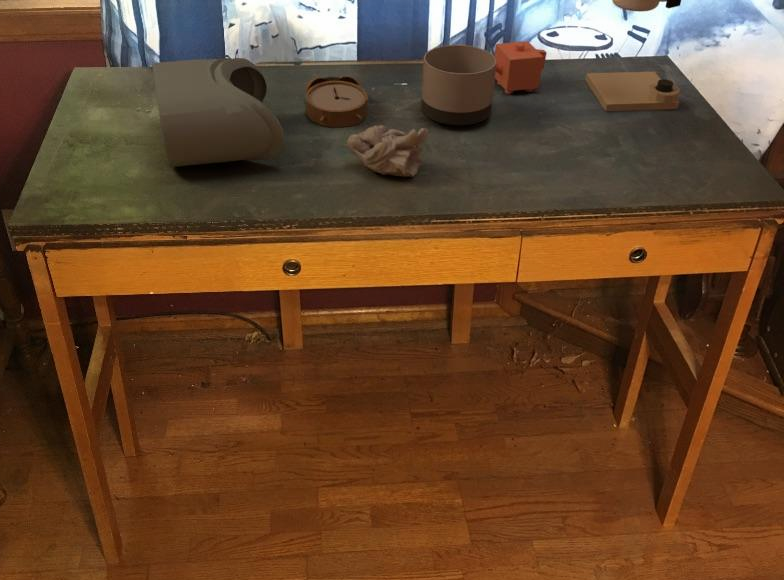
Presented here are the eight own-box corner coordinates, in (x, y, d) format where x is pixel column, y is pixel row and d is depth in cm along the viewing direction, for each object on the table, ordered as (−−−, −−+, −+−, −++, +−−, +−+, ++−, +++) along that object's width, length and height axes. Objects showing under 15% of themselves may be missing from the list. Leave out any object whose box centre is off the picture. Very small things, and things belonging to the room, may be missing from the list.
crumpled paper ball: (427, 125, 134) (366, 91, 137) (394, 182, 136) (335, 147, 139) (441, 139, 142) (383, 107, 145) (410, 194, 143) (354, 160, 147)
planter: (498, 129, 154) (504, 72, 147) (428, 133, 153) (431, 75, 145) (481, 98, 163) (486, 43, 156) (415, 102, 162) (417, 46, 155)
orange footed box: (476, 81, 169) (480, 38, 164) (533, 75, 172) (538, 33, 166) (490, 98, 164) (494, 54, 158) (548, 92, 166) (554, 49, 160)
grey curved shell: (162, 123, 154) (150, 51, 145) (267, 113, 157) (262, 42, 148) (171, 184, 138) (158, 107, 129) (287, 171, 142) (283, 96, 133)
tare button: (673, 93, 161) (675, 85, 160) (659, 93, 160) (661, 85, 159) (668, 87, 163) (670, 79, 162) (654, 87, 162) (656, 79, 161)
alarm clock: (309, 114, 151) (300, 65, 159) (310, 138, 154) (300, 89, 163) (372, 111, 152) (359, 62, 161) (371, 134, 156) (359, 86, 165)
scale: (680, 110, 162) (684, 94, 159) (606, 112, 160) (609, 96, 158) (654, 78, 172) (658, 63, 170) (585, 80, 171) (587, 65, 168)
